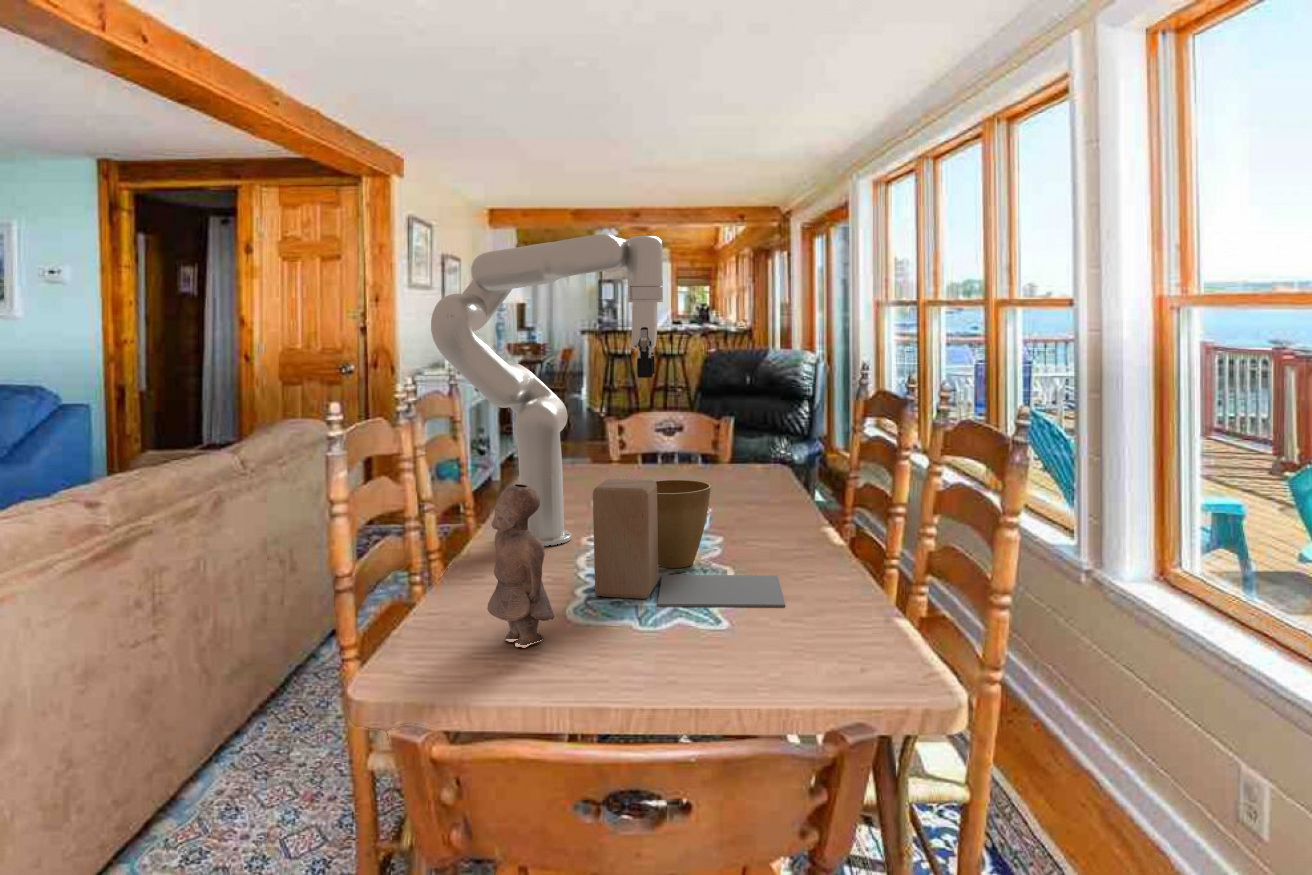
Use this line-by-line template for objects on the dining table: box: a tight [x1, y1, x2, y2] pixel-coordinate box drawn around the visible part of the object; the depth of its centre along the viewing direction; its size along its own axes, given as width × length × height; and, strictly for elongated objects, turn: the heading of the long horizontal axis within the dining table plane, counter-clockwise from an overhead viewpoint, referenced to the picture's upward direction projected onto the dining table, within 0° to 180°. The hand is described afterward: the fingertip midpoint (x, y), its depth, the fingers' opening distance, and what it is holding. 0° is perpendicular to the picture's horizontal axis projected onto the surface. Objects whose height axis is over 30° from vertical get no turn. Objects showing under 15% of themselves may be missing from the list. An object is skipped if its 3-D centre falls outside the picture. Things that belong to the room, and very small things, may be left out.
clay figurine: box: [486, 483, 555, 645], centre depth 138 cm, size 13×10×25 cm
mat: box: [657, 574, 786, 608], centre depth 164 cm, size 22×17×1 cm
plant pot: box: [654, 479, 712, 569], centre depth 181 cm, size 15×15×16 cm
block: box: [592, 478, 659, 600], centre depth 164 cm, size 10×10×20 cm
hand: (646, 375), depth 195 cm, fingers open, 9 cm apart
